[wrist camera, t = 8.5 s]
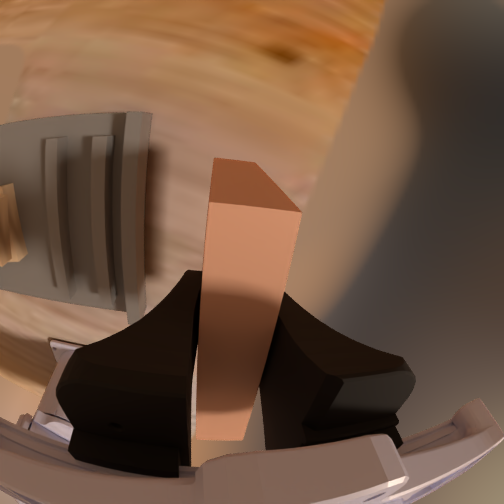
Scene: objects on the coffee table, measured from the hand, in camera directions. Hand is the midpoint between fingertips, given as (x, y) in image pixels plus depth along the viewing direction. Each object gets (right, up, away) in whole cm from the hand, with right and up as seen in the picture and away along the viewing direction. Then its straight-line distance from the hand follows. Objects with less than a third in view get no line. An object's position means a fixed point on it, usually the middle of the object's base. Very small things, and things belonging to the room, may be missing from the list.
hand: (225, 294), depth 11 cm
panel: (-1, +2, +4) cm, 4 cm away
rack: (-15, +5, +6) cm, 17 cm away
